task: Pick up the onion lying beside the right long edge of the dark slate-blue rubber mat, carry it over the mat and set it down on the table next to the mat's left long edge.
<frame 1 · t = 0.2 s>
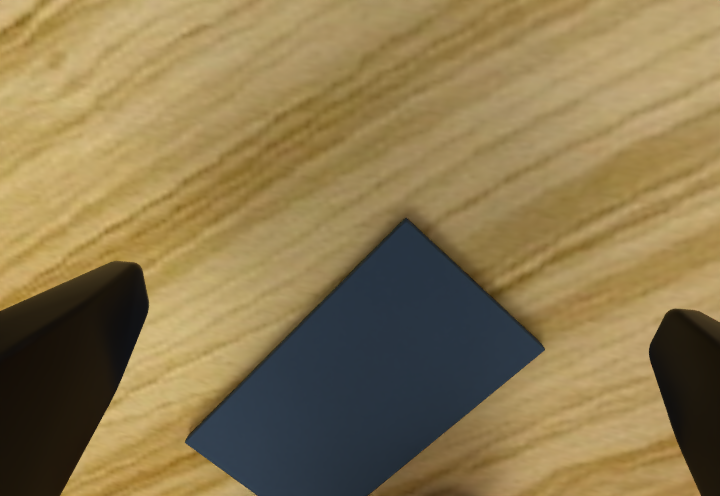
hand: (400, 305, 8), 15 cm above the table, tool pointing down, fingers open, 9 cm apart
mat: (356, 392, 27), on the table
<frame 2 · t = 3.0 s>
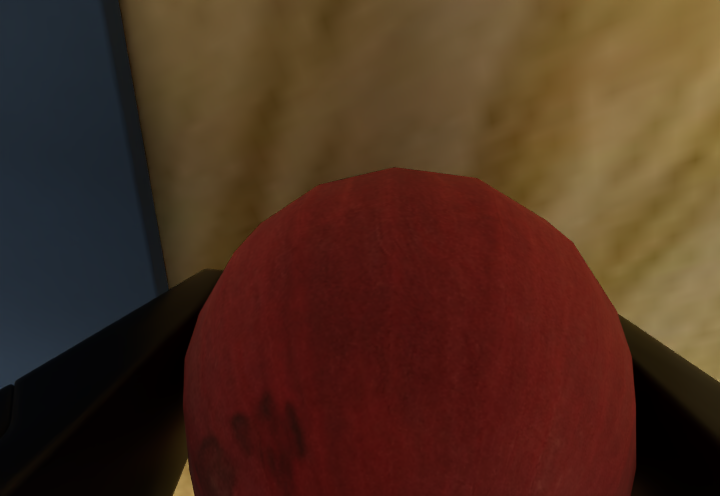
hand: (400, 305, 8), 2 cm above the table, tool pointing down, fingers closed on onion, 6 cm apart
onion: (397, 239, 10), on the table, touching gripper
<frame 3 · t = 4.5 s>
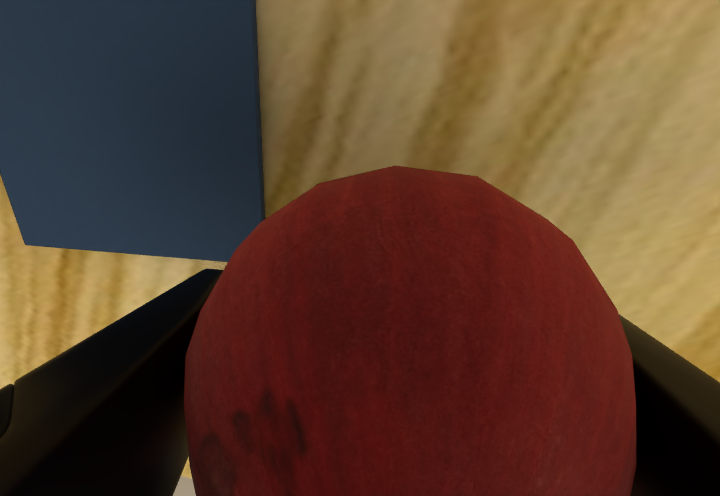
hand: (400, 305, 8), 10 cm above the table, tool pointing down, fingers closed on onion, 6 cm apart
mat: (105, 13, 16), on the table
onion: (397, 238, 10), point 8 cm above the table, touching gripper
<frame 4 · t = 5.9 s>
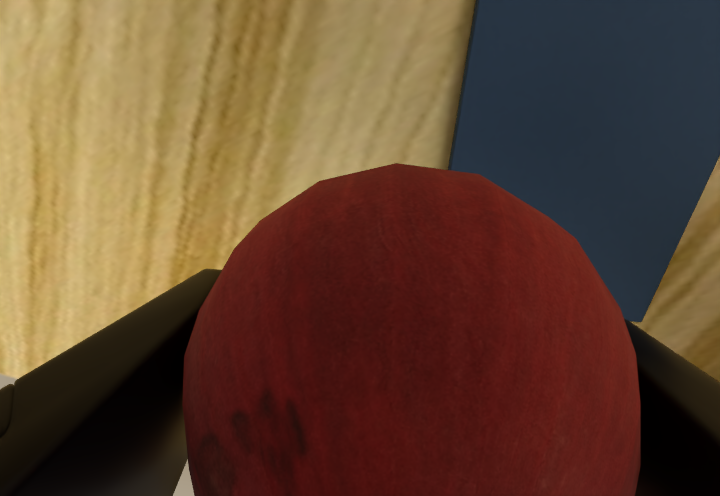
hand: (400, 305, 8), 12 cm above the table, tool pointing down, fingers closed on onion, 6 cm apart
mat: (588, 119, 18), on the table
onion: (398, 237, 10), point 10 cm above the table, touching gripper
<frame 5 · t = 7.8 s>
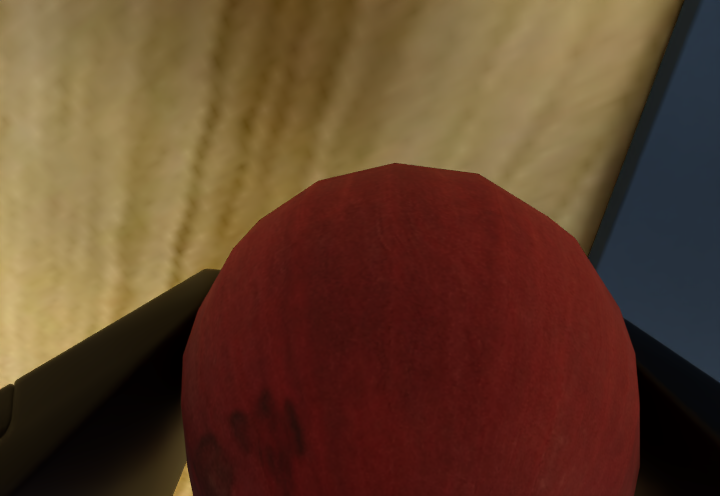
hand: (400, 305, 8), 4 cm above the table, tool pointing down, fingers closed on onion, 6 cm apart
onion: (397, 237, 10), point 2 cm above the table, touching gripper
when the fingers open (2 cm above the table, at t = 8.9 s): onion stays where it is, on the table.
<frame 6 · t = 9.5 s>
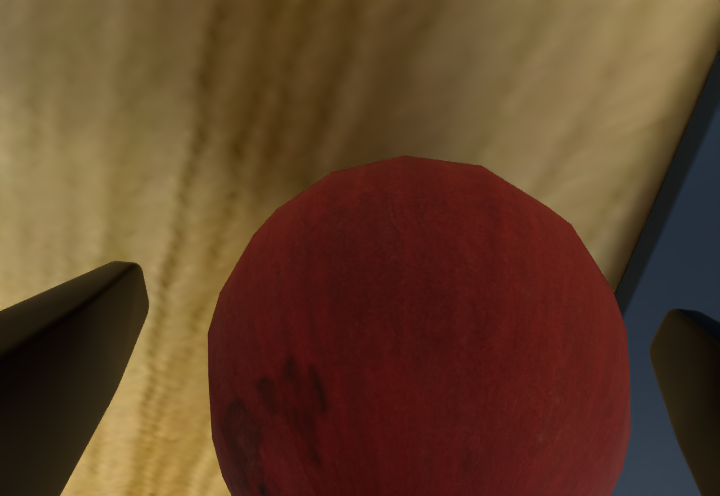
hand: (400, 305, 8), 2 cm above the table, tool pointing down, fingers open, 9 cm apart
onion: (403, 229, 11), on the table
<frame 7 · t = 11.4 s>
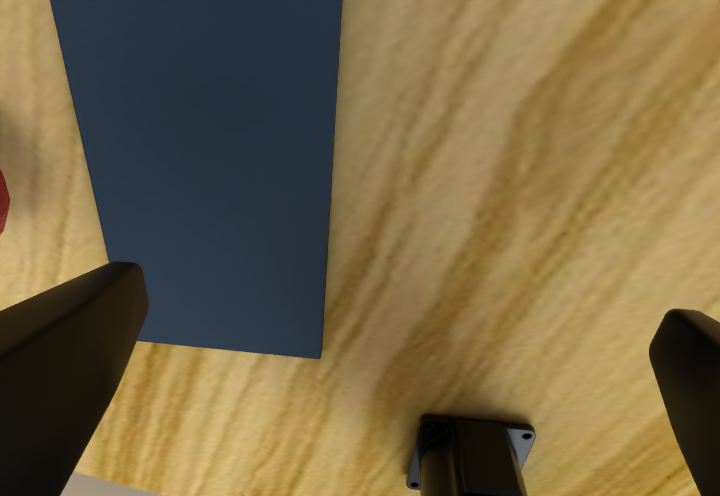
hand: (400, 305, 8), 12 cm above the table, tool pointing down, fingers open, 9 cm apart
mat: (213, 184, 21), on the table
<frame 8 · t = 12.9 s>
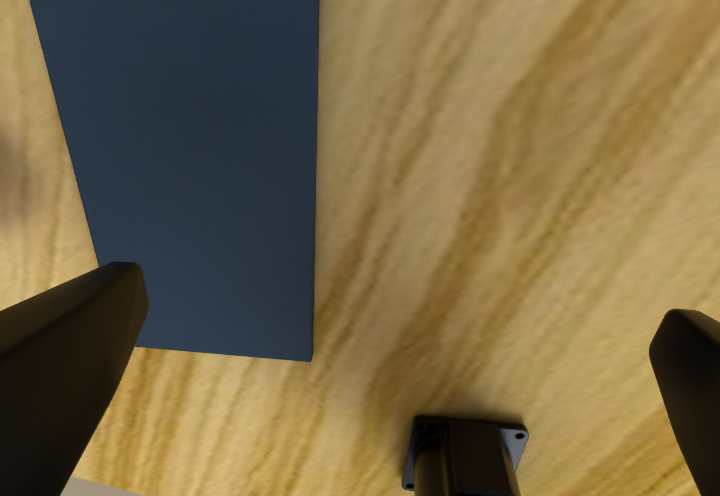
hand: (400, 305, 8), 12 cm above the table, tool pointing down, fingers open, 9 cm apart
mat: (200, 190, 21), on the table
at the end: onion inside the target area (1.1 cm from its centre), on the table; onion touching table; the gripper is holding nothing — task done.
